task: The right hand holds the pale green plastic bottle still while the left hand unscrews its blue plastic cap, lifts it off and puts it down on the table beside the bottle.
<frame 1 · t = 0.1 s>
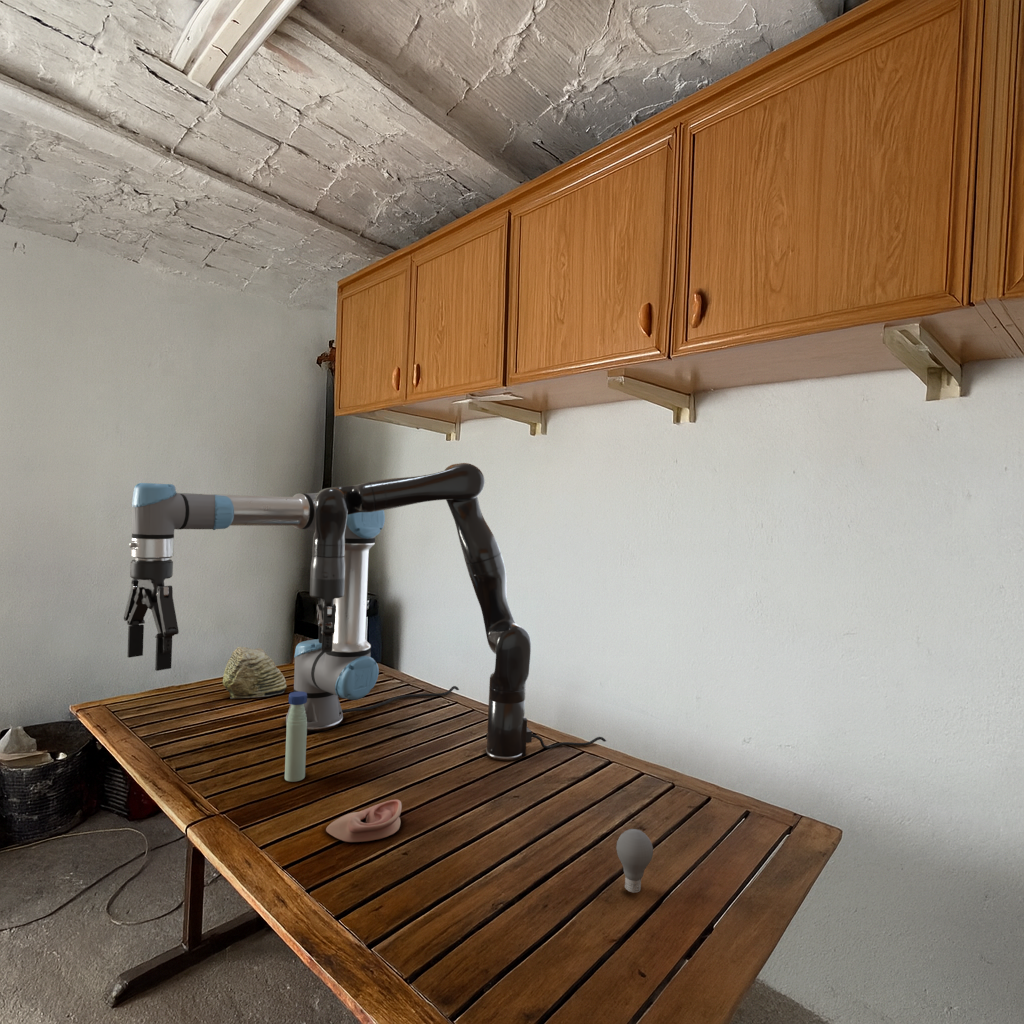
left hand: (148, 662, 129), 28 cm above the table, tool pointing down, fingers open, 13 cm apart
right hand: (325, 647, 144), 29 cm above the table, tool pointing down, fingers open, 8 cm apart
cap: (297, 695, 142), point 19 cm above the table, screwed on, not yet turned
light bulb: (632, 891, 106), on the table
fossil: (254, 694, 198), on the table
bottle: (294, 777, 142), on the table
anatomical model: (364, 828, 122), on the table
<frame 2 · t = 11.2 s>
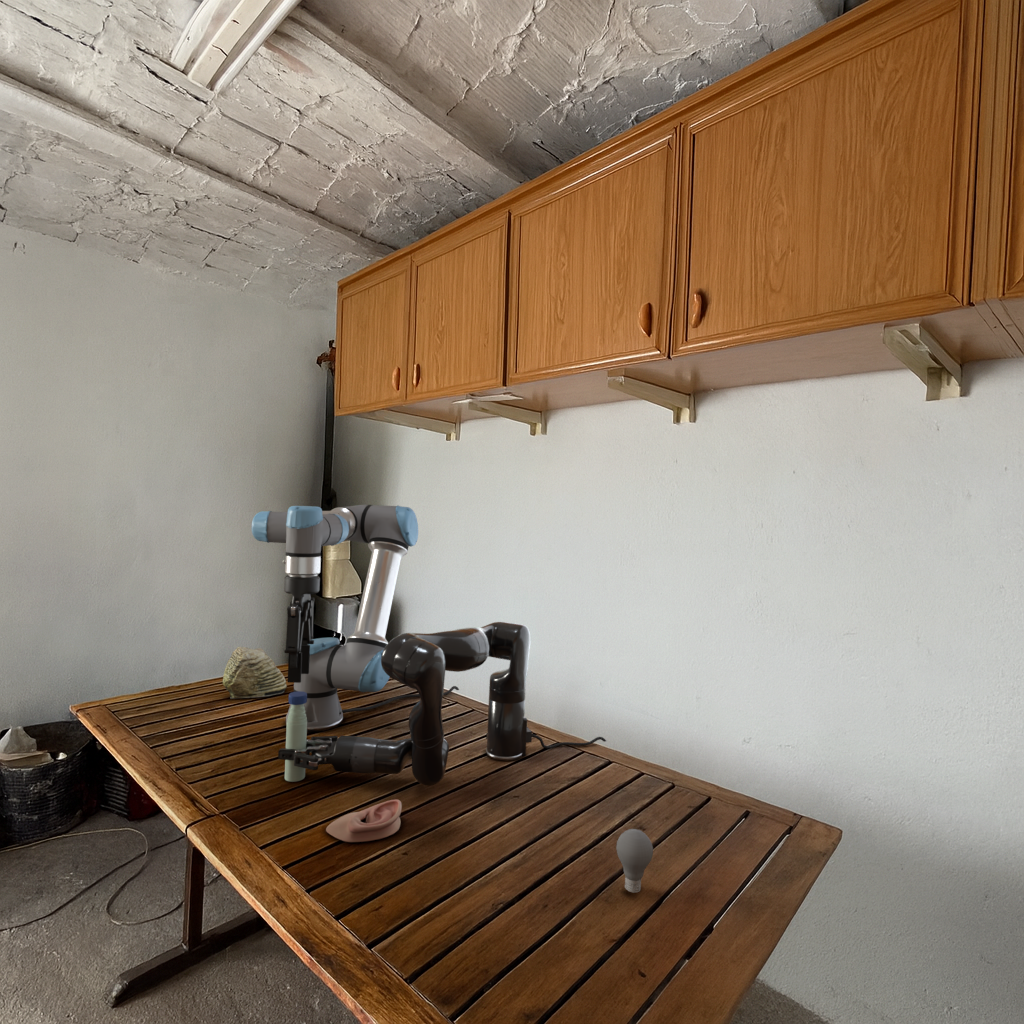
left hand: (298, 677, 142), 23 cm above the table, tool pointing down, fingers open, 6 cm apart
right hand: (284, 749, 142), 6 cm above the table, tool horizontal, fingers closed on bottle, 4 cm apart
bottle: (294, 777, 142), on the table, touching right hand
everything else where it was.
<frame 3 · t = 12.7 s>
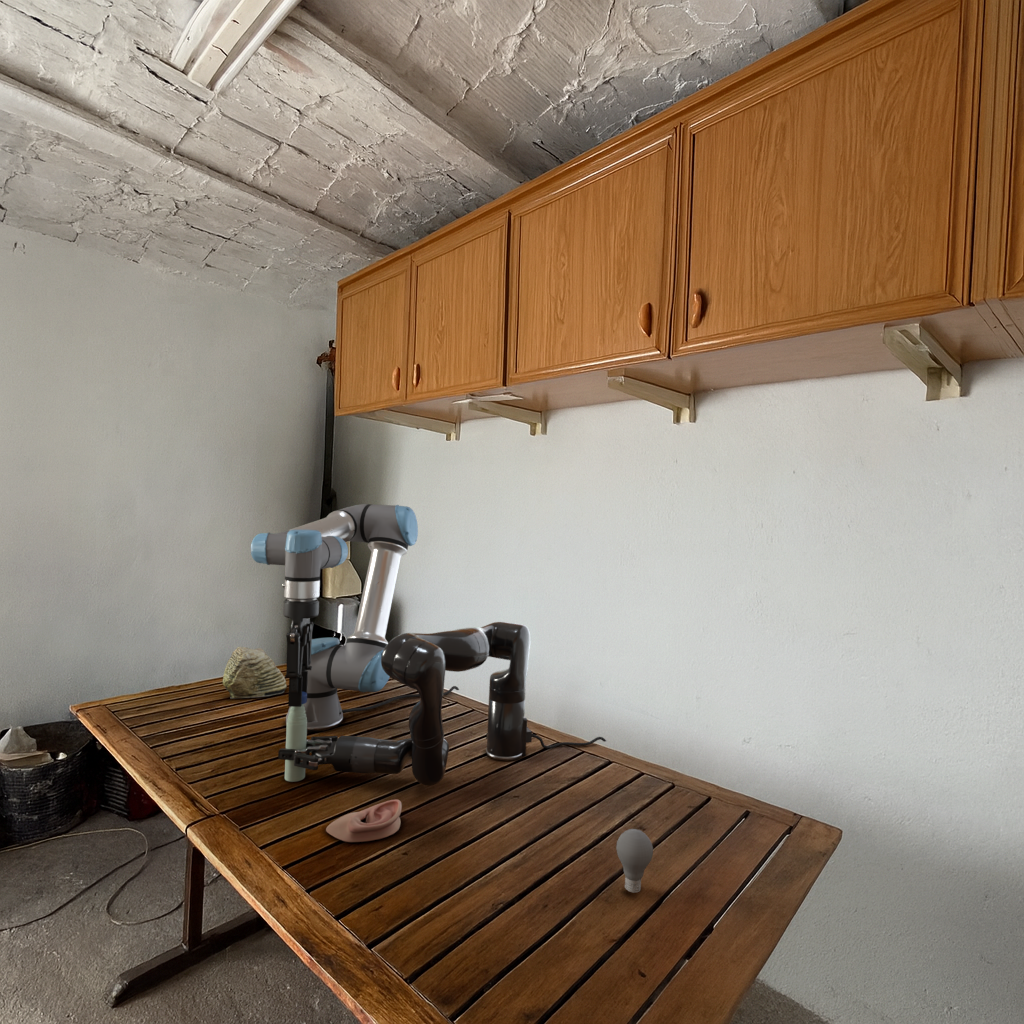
left hand: (297, 702, 142), 17 cm above the table, tool pointing down, fingers closed on cap, 4 cm apart
right hand: (284, 749, 142), 6 cm above the table, tool horizontal, fingers closed on bottle, 4 cm apart
cap: (297, 695, 142), point 19 cm above the table, screwed on, not yet turned, touching left hand
bottle: (294, 777, 142), on the table, touching right hand
everything else where it was.
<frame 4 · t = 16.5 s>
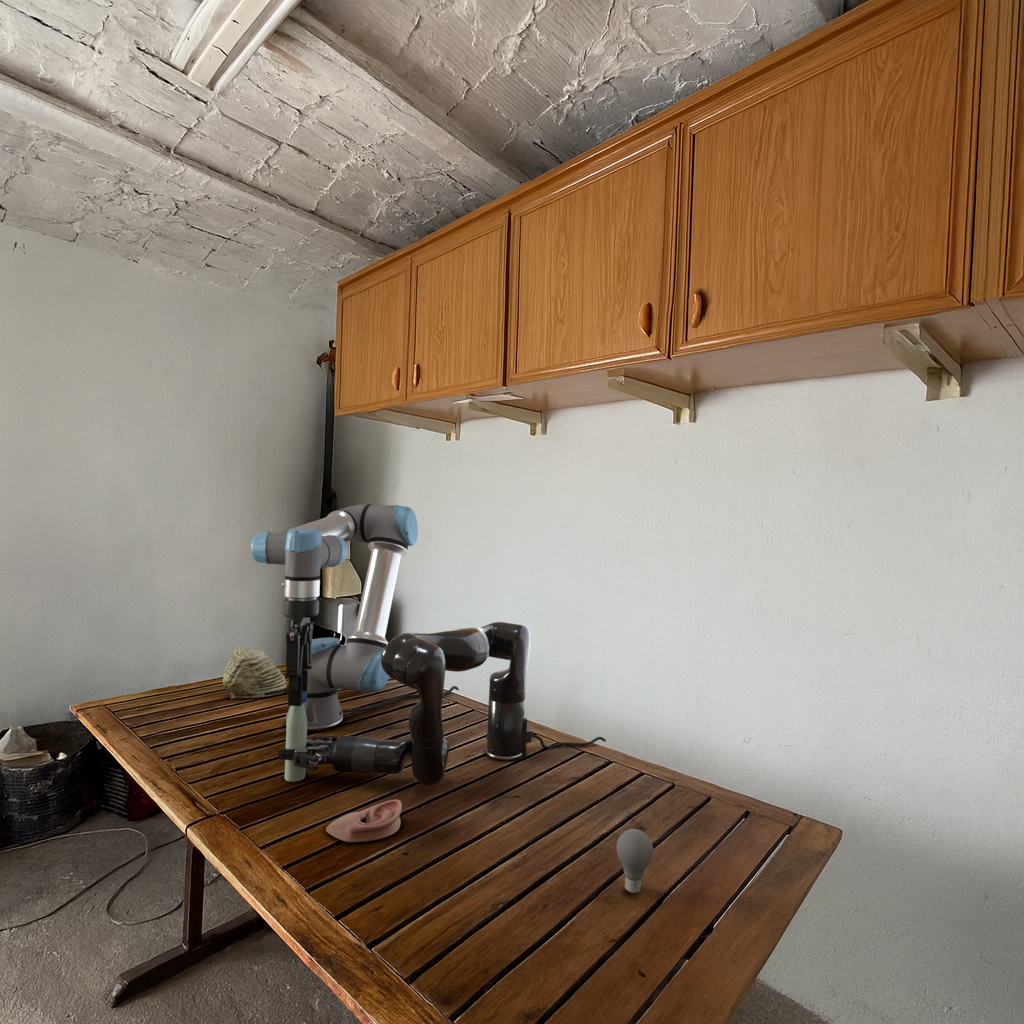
left hand: (297, 701, 142), 17 cm above the table, tool pointing down, fingers closed on cap, 4 cm apart
right hand: (284, 749, 142), 6 cm above the table, tool horizontal, fingers closed on bottle, 4 cm apart
cap: (297, 694, 142), point 19 cm above the table, turned 130° so far, risen 0.1 cm, still on its thread, touching left hand
bottle: (294, 777, 142), on the table, touching right hand
everything else where it was.
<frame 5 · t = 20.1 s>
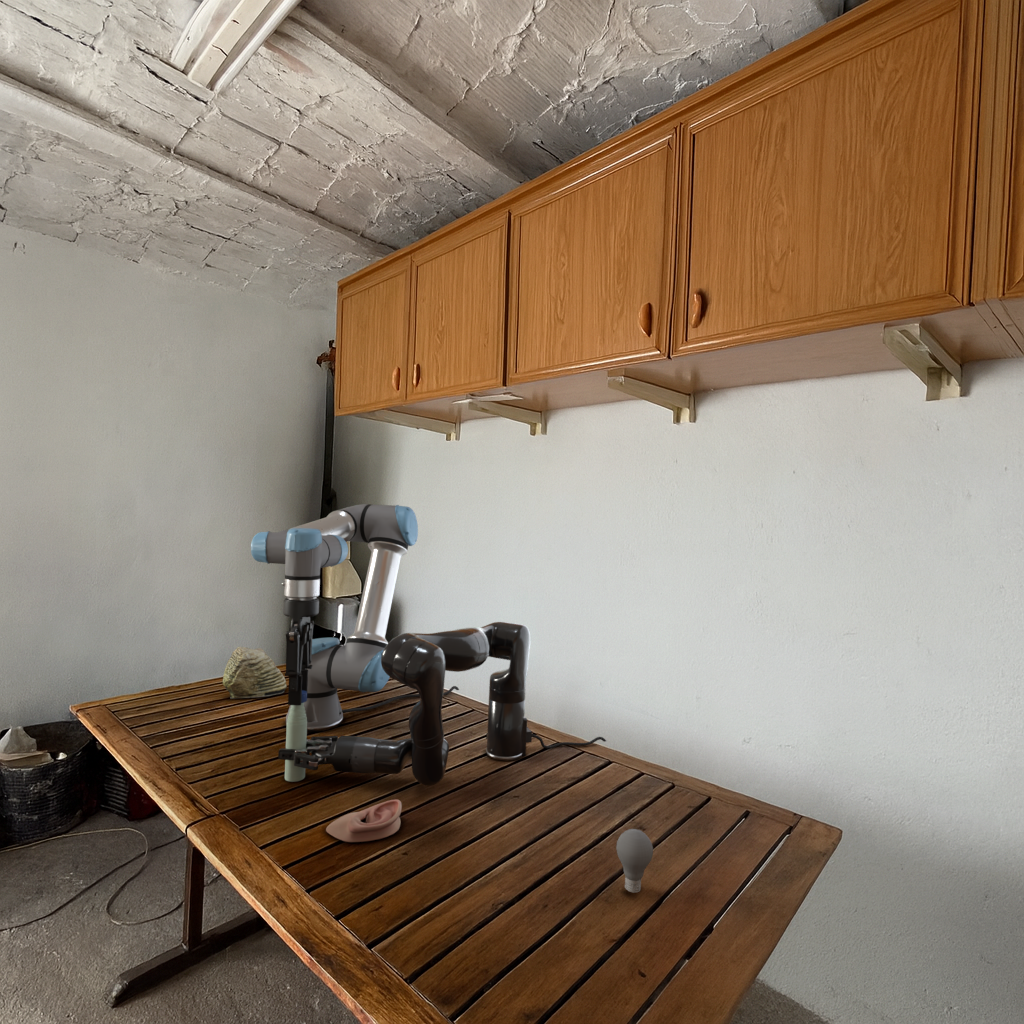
left hand: (297, 701, 142), 17 cm above the table, tool pointing down, fingers closed on cap, 4 cm apart
right hand: (284, 749, 142), 6 cm above the table, tool horizontal, fingers closed on bottle, 4 cm apart
cap: (298, 694, 142), point 19 cm above the table, turned 260° so far, risen 0.3 cm, still on its thread, touching left hand
bottle: (294, 777, 142), on the table, touching right hand
everything else where it was.
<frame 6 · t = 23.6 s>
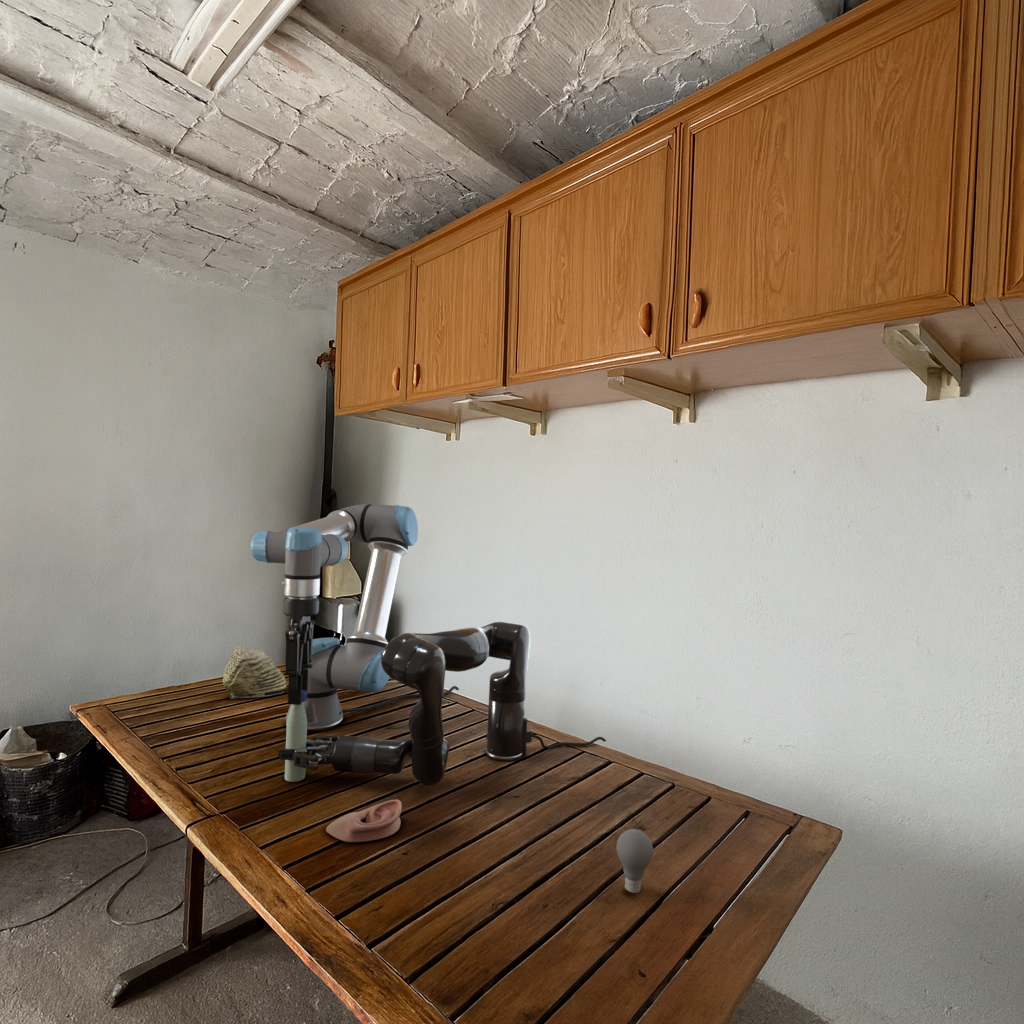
left hand: (297, 700, 142), 17 cm above the table, tool pointing down, fingers closed on cap, 4 cm apart
right hand: (284, 749, 142), 6 cm above the table, tool horizontal, fingers closed on bottle, 4 cm apart
cap: (298, 693, 142), point 19 cm above the table, turned 390° so far, risen 0.4 cm, still on its thread, touching left hand
bottle: (294, 777, 142), on the table, touching right hand
everything else where it was.
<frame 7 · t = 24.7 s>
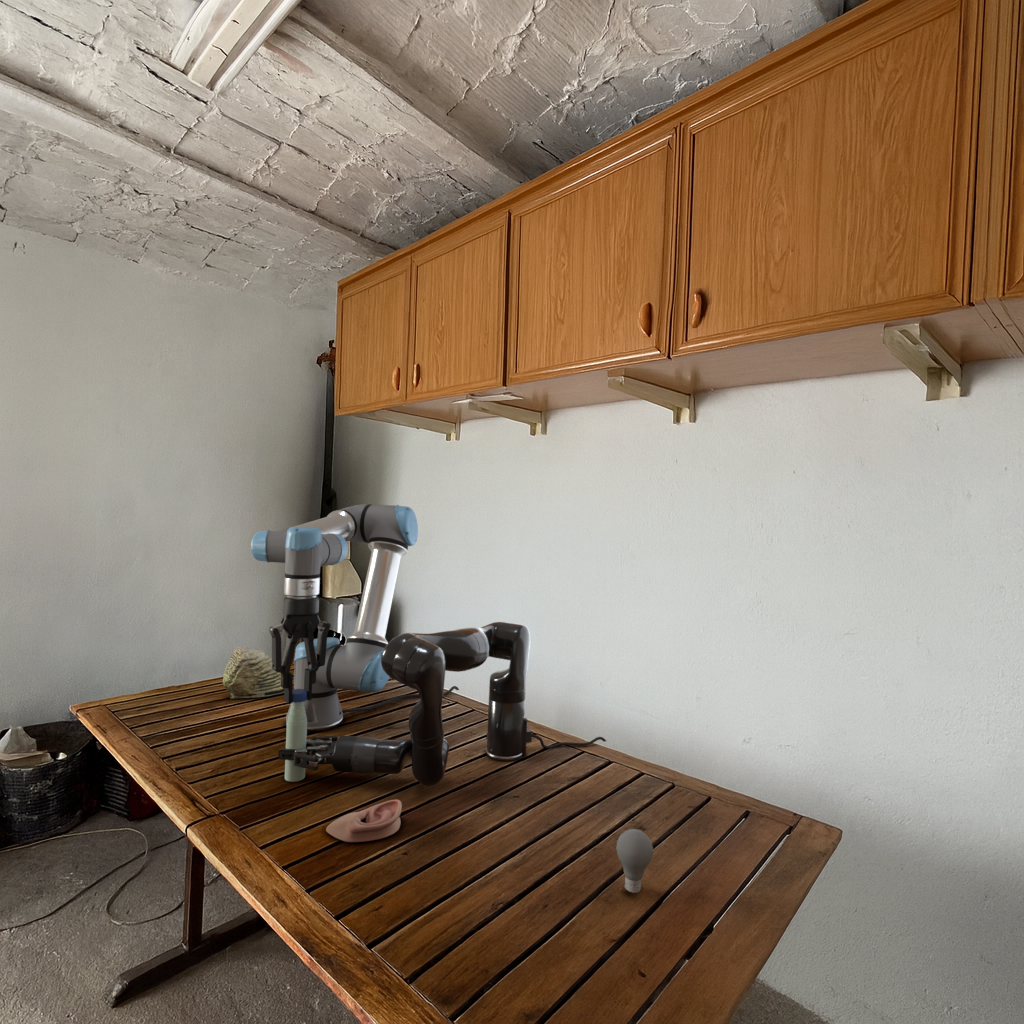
left hand: (297, 699, 142), 18 cm above the table, tool pointing down, fingers closed on cap, 4 cm apart
right hand: (284, 749, 142), 6 cm above the table, tool horizontal, fingers closed on bottle, 4 cm apart
cap: (298, 692, 142), point 19 cm above the table, off its thread, touching left hand
bottle: (294, 777, 142), on the table, touching right hand
everything else where it was.
when the left hand's fingers open (1 cm above the table, at t = 30.8 s): cap stays where it is, point 2 cm above the table.
when the right hand's fingers open (6 cm above the table, at t = 32.1 s): bottle stays where it is, on the table.
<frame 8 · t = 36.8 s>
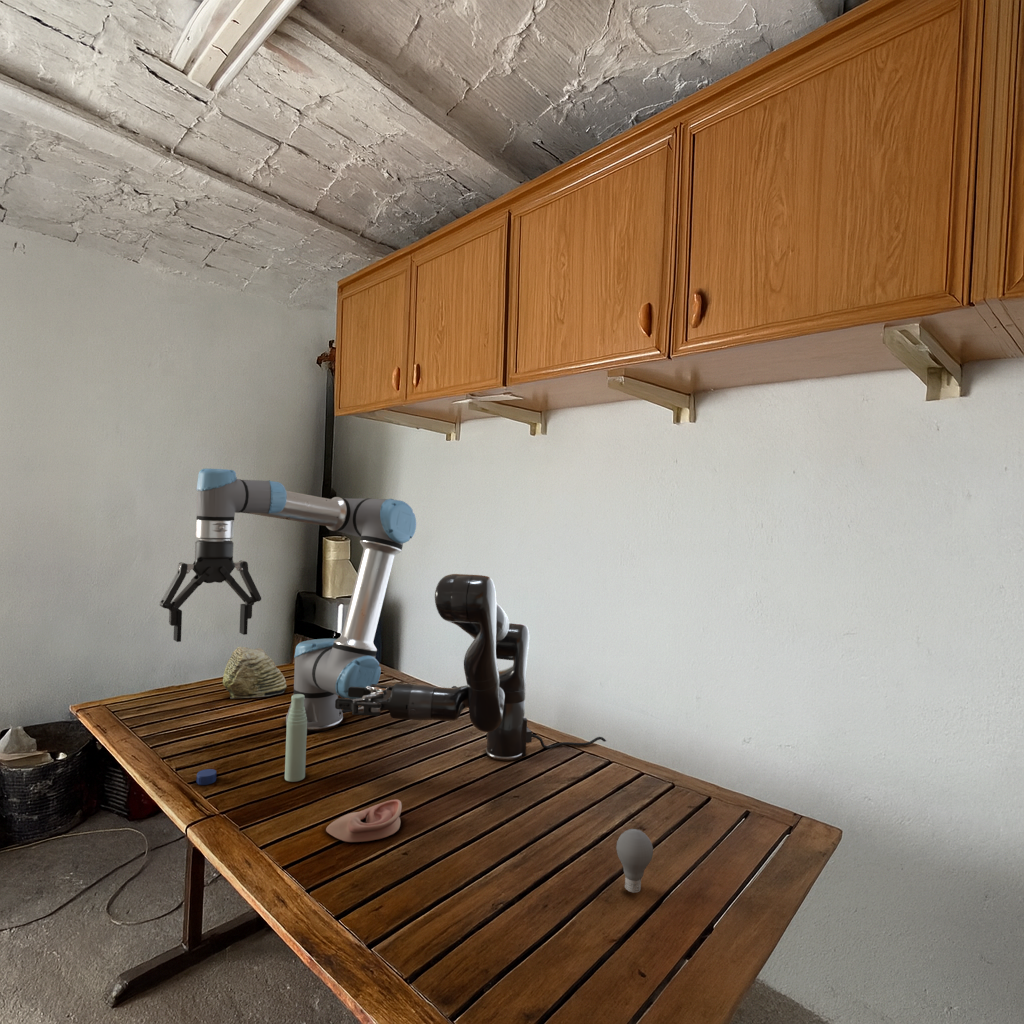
left hand: (211, 637, 138), 32 cm above the table, tool pointing down, fingers open, 13 cm apart
right hand: (342, 697, 141), 19 cm above the table, tool horizontal, fingers open, 8 cm apart
cap: (206, 774, 139), point 2 cm above the table, off its thread
bottle: (294, 777, 142), on the table
everything else where it was.
at the end: cap came off its thread; cap point 1.6 cm above the table; the left hand is holding nothing; the right hand is holding nothing; bottle tilted 0°; bottle moved 0.0 cm from its start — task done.
